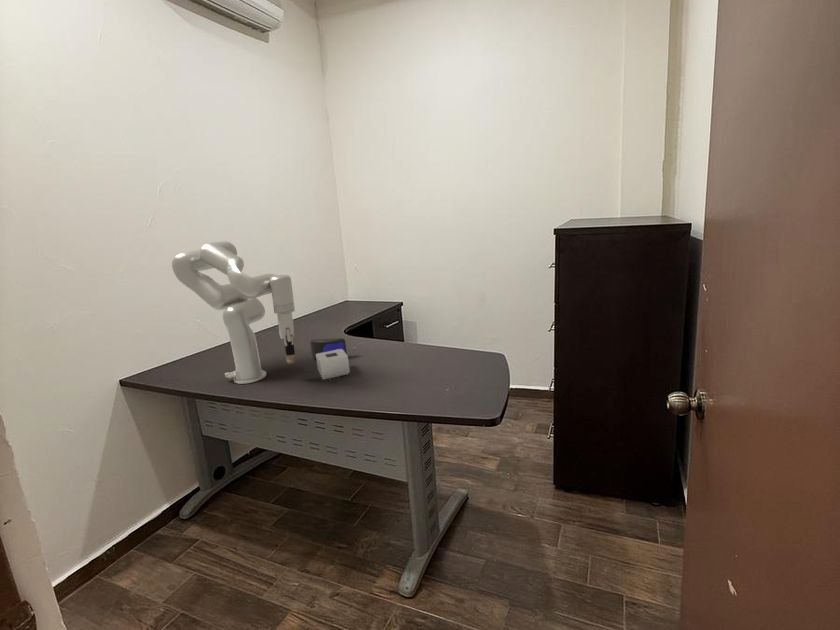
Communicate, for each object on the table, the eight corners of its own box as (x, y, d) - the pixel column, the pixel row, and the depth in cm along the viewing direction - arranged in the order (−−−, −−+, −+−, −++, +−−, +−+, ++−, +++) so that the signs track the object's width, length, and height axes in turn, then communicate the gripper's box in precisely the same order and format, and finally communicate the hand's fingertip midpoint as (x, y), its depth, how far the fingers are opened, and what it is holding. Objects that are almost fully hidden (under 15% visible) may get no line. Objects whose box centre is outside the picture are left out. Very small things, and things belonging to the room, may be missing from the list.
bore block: (322, 380, 163) (320, 361, 161) (318, 371, 173) (315, 353, 171) (350, 374, 167) (347, 356, 165) (344, 366, 177) (342, 348, 175)
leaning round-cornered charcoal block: (310, 362, 186) (306, 342, 184) (313, 358, 191) (310, 338, 188) (345, 360, 184) (342, 340, 182) (347, 357, 189) (345, 337, 186)
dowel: (287, 364, 161) (283, 334, 158) (286, 361, 164) (282, 332, 161) (295, 362, 162) (292, 333, 159) (294, 360, 165) (291, 331, 162)
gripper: (272, 304, 163) (278, 348, 168) (275, 313, 149) (281, 361, 153) (292, 302, 166) (297, 345, 171) (296, 311, 151) (302, 358, 156)
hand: (289, 352), depth 162 cm, fingers closed on dowel, 3 cm apart
